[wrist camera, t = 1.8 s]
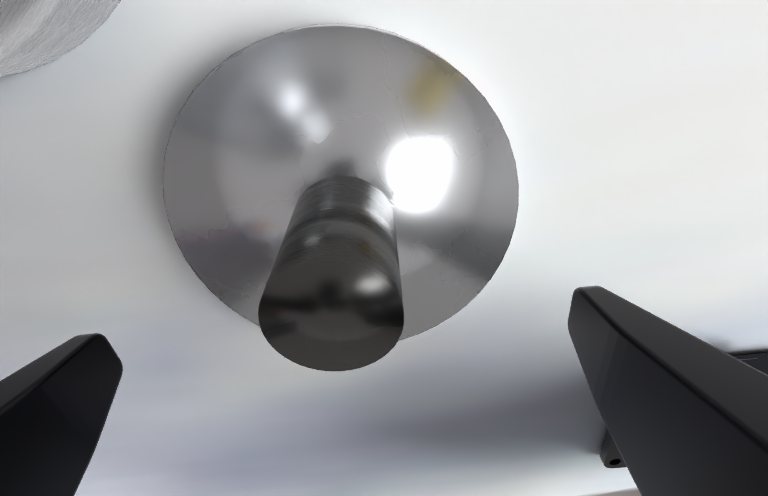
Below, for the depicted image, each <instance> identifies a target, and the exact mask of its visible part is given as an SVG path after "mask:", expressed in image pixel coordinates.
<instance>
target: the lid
mask: <svg viewBox="0 0 768 496" xmlns="http://www.w3.org/2000/svg"><path fill="white" fill-rule="evenodd" d="M163 190H164V202H165V206H166V211H167V216H168V220H169V223H170V226H171V229H172V231H173V234H174V237H175V240H176V242H177V244H178V246H179V248H180V250H181V251H182V253H183V255H184V257H185V259H186V260H187V262H188V263H189V265H190V266H191V268H192V269H193V271H194V272H195V273H196V275H197V276H198V277H199V278H200V280H201V281H202V282H203V283H204V284H205V285H206V286H207V288H208V289H209V290H210V291H211V292H212V293H213V294H215V295H216V296H217V297H218V298H219V299H220V300H221V301H222V302H223V303H224V304H226V305H227V306H228V307H230V308H231V309H233V310H234V311H235V312H237V313H238V314H239V315H241V316H243V317H244V318H246V319H248V320H249V321H251V322H253V323H255V324H256V325H258V326H260V328H261V330H262V332H263V335H264V336H265V338H266V339H267V341H268V342H269V343H270V345H271V346H272V347H273V348H274V349H275V350H276V351H277V352H279V353H280V354H281V355H283V356H284V357H285V358H287V359H289V360H291V361H293V362H295V363H297V364H299V365H302V366H305V367H308V368H312V369H316V370H323V371H346V370H353V369H357V368H361V367H364V366H367V365H369V364H371V363H374V362H376V361H377V360H379V359H381V358H382V357H383V356H385V355H386V354H387V353H388V352H389V351H390V350H391V349H392V348H393V347H394V346H395V345H396V343H397V342H398V340H403V339H405V338H408V337H411V336H414V335H417V334H420V333H422V332H424V331H426V330H428V329H430V328H433V327H435V326H437V325H438V324H440V323H442V322H443V321H445V320H447V319H448V318H450V317H452V316H453V315H454V314H456V313H457V312H458V311H459V310H461V309H462V308H463V307H465V306H466V305H467V304H468V303H469V302H470V301H471V300H472V299H473V298H474V297H475V296H476V295H477V294H479V293H480V291H481V290H482V289H483V288H484V286H485V285H486V284H487V283H488V282H489V280H490V279H491V278H492V276H493V275H494V273H495V271H496V270H497V268H498V267H499V265H500V263H501V262H502V260H503V258H504V255H505V253H506V251H507V249H508V247H509V244H510V241H511V238H512V235H513V231H514V228H515V224H516V217H517V211H518V190H519V184H518V177H517V169H516V162H515V159H514V156H513V152H512V149H511V145H510V142H509V139H508V137H507V135H506V133H505V131H504V129H503V126H502V124H501V122H500V120H499V118H498V117H497V115H496V114H495V112H494V111H493V109H492V108H491V106H490V105H489V103H488V102H487V100H486V99H485V97H484V96H483V95H482V94H481V93H480V92H479V91H478V90H477V89H476V87H475V86H474V85H473V84H472V83H471V82H470V81H469V80H468V79H467V78H466V77H465V76H464V75H463V74H462V73H460V72H459V71H458V70H457V69H456V68H454V67H453V66H452V65H451V64H449V63H448V62H447V61H446V60H445V59H443V58H442V57H441V56H439V55H438V54H436V53H434V52H433V51H431V50H429V49H428V48H426V47H424V46H423V45H421V44H419V43H417V42H415V41H412V40H410V39H408V38H405V37H403V36H401V35H398V34H396V33H393V32H389V31H385V30H381V29H377V28H373V27H369V26H361V25H351V24H320V25H311V26H306V27H301V28H296V29H291V30H287V31H285V32H282V33H279V34H276V35H274V36H271V37H268V38H265V39H263V40H260V41H257V42H255V43H253V44H251V45H249V46H248V47H246V48H244V49H242V50H240V51H239V52H237V53H235V54H233V55H231V56H230V57H229V58H228V59H226V60H225V61H224V62H222V63H221V64H220V65H219V66H217V67H216V68H215V69H214V70H212V71H211V72H210V73H209V74H208V75H207V76H206V77H205V78H204V80H203V81H202V82H201V83H200V84H199V85H198V86H197V87H196V88H195V89H194V91H193V92H192V93H191V95H190V97H189V98H188V100H187V101H186V103H185V104H184V106H183V107H182V109H181V110H180V112H179V114H178V117H177V119H176V121H175V124H174V126H173V128H172V131H171V133H170V137H169V141H168V144H167V148H166V152H165V158H164V169H163Z"/></svg>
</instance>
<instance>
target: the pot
mask: <svg viewBox="0 0 768 496" xmlns="http://www.w3.org/2000/svg"><path fill="white" fill-rule="evenodd" d="M120 1H121V0H0V77H2V76H7V75H12V74H16V73H21V72H25V71H28V70H30V69H33V68H36V67H38V66H41V65H43V64H46V63H49V62H51V61H54V60H56V59H57V58H59V57H60V56H62V55H64V54H65V53H67V52H68V51H70V50H72V49H73V48H75V47H76V46H78V45H80V44H81V43H82V42H83V41H85V40H86V39H87V38H88V37H89V36H90V35H91V34H92V33H93V32H94V31H95V30H96V29H97V28H99V27H100V26H101V25H102V24H103V23H104V22H105V21H106V20H107V18H108V17H109V16H110V14H111V13H112V12H113V10H114V9H115V8H116V6H117V5H118V3H119V2H120Z"/></svg>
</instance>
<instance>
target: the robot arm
mask: <svg viewBox="0 0 768 496" xmlns="http://www.w3.org/2000/svg"><path fill="white" fill-rule="evenodd" d="M568 329H569V333H570V336H571V339H572V342H573V344H574V347H575V350H576V352H577V355H578V358H579V360H580V363H581V366H582V368H583V371H584V374H585V376H586V379H587V382H588V384H589V387H590V390H591V392H592V395H593V398H594V400H595V402H596V405H597V407H598V410H599V412H600V414H601V416H602V418H603V420H604V422H605V424H606V426H607V428H608V430H607V433H606V436H605V440H604V443H603V446H602V449H601V452H600V458H601V460H602V462H603V464H604V466H605V467H607V468H621V467H627V468H628V470H629V472H630V474H631V476H632V478H633V480H634V482H635V484H636V486H637V488H638V490H639V491H640V493H641V495H642V496H768V353H760V354H749V355H737V356H731V355H729V354H727V353H725V352H723V351H721V350H719V349H717V348H715V347H714V346H712V345H710V344H708V343H706V342H704V341H702V340H700V339H699V338H697V337H695V336H693V335H691V334H689V333H687V332H685V331H683V330H682V329H680V328H678V327H676V326H674V325H672V324H670V323H668V322H667V321H665V320H663V319H661V318H659V317H657V316H655V315H653V314H651V313H650V312H648V311H646V310H644V309H642V308H640V307H638V306H636V305H635V304H633V303H631V302H629V301H627V300H625V299H623V298H621V297H619V296H618V295H616V294H614V293H612V292H610V291H608V290H606V289H604V288H602V287H600V286H589V287H579V288H577V289H575V291H574V293H573V296H572V301H571V307H570V312H569V318H568ZM122 372H123V366H122V362H121V360H120V359H119V357H118V356H117V354H116V352H115V351H114V349H113V348H112V346H111V345H110V343H109V342H108V340H107V339H106V337H105V336H103V335H102V334H98V333H94V334H84V335H78V336H75V337H73V338H72V339H70V340H68V341H67V342H65V343H63V344H62V345H60V346H58V347H56V348H55V349H53V350H51V351H50V352H48V353H46V354H45V355H43V356H41V357H40V358H38V359H36V360H35V361H33V362H31V363H30V364H28V365H26V366H25V367H23V368H21V369H20V370H18V371H16V372H15V373H13V374H11V375H10V376H8V377H6V378H5V379H3V380H1V381H0V496H74V495H75V493H76V490H77V488H78V486H79V484H80V482H81V480H82V478H83V475H84V473H85V471H86V469H87V467H88V465H89V462H90V460H91V458H92V456H93V453H94V451H95V448H96V446H97V443H98V441H99V438H100V435H101V432H102V430H103V427H104V424H105V421H106V418H107V416H108V413H109V410H110V407H111V404H112V402H113V399H114V396H115V393H116V390H117V387H118V385H119V382H120V379H121V376H122Z"/></svg>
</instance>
